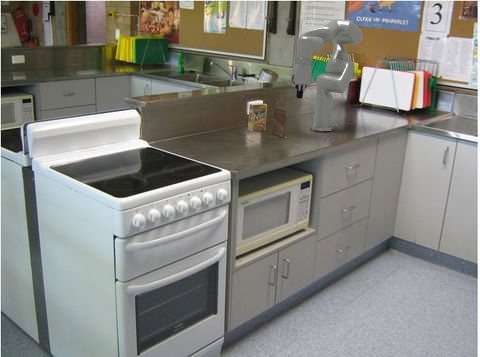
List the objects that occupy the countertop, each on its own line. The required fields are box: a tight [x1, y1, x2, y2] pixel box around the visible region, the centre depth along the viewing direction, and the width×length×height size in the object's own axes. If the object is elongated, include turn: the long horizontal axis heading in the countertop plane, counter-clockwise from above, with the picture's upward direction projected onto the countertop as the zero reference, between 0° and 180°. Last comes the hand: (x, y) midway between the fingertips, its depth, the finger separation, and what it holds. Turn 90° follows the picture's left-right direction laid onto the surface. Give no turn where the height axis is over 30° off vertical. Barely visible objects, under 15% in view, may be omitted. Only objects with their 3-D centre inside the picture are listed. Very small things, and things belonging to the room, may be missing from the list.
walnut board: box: [271, 106, 287, 138], centre depth 268 cm, size 1×10×14 cm, turn 26°
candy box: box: [247, 103, 268, 133], centre depth 276 cm, size 9×4×15 cm, turn 118°
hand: (299, 98), depth 269 cm, fingers closed
